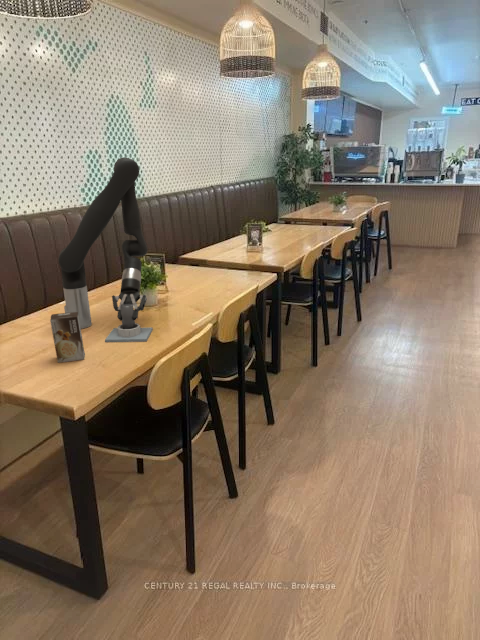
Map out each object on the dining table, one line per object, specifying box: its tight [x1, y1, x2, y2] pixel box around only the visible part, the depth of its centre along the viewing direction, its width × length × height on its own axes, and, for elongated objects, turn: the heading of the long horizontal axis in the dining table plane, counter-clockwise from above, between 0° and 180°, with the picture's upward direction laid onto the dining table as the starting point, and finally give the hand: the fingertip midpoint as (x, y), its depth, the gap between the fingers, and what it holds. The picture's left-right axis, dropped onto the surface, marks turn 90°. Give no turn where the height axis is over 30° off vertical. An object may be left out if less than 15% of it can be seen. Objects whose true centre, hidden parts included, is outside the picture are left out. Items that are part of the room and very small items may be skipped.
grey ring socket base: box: [104, 322, 154, 343], centre depth 183 cm, size 16×13×4 cm
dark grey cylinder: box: [119, 304, 136, 329], centre depth 181 cm, size 5×5×10 cm
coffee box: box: [49, 312, 86, 364], centre depth 162 cm, size 9×6×16 cm
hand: (127, 319), depth 180 cm, fingers closed on dark grey cylinder, 5 cm apart
